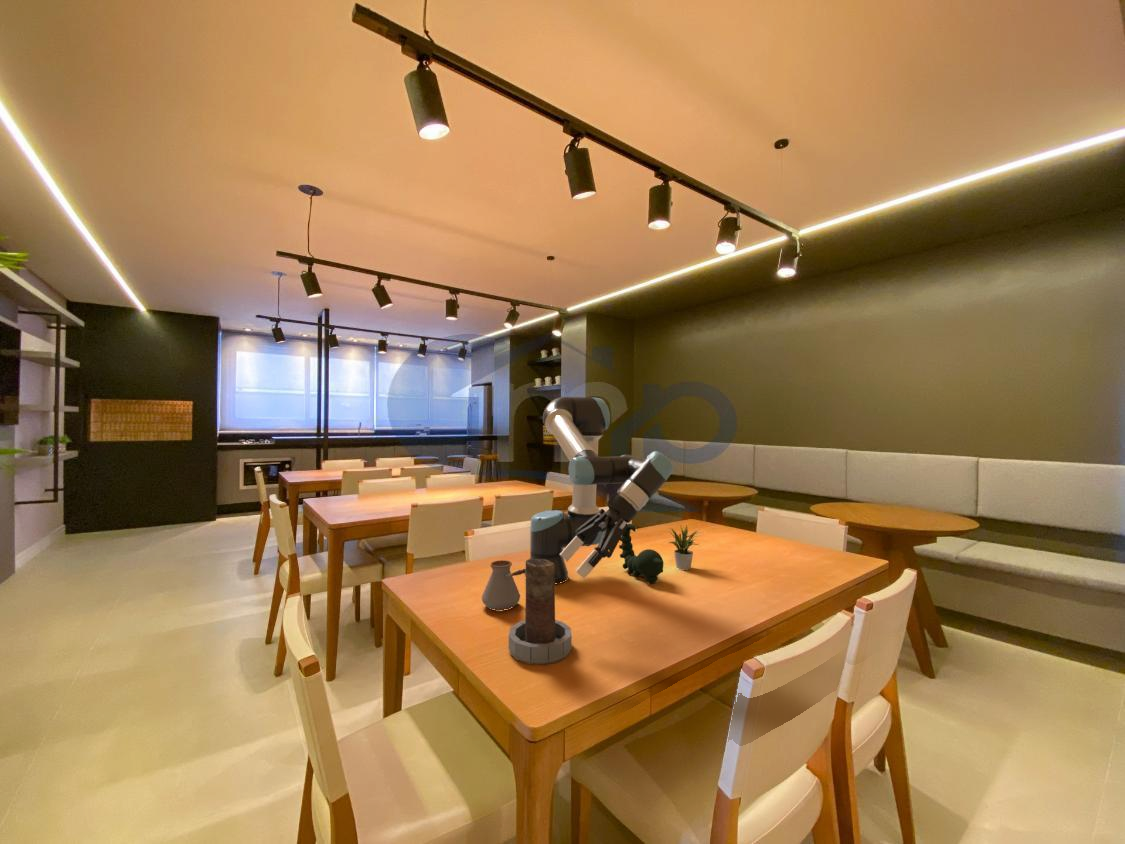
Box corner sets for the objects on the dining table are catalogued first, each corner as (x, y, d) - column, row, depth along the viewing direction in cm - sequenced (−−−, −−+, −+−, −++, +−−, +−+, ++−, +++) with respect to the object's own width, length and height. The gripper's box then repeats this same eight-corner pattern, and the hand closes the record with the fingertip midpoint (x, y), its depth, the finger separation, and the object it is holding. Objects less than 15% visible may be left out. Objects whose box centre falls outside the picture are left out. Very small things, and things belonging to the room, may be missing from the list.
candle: (525, 636, 112) (525, 556, 112) (554, 635, 113) (554, 556, 113) (525, 651, 104) (525, 565, 105) (556, 650, 105) (556, 565, 105)
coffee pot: (475, 604, 135) (475, 554, 135) (508, 596, 141) (508, 548, 142) (510, 630, 118) (510, 573, 118) (546, 619, 124) (546, 565, 125)
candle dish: (496, 654, 105) (496, 637, 105) (530, 629, 118) (530, 614, 118) (551, 671, 98) (551, 652, 98) (581, 642, 111) (581, 626, 111)
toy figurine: (614, 573, 169) (652, 589, 146) (612, 523, 171) (649, 531, 148) (635, 570, 173) (675, 586, 150) (633, 521, 174) (672, 528, 152)
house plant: (710, 575, 162) (710, 530, 163) (672, 575, 163) (672, 530, 163) (698, 563, 177) (698, 522, 177) (663, 563, 177) (663, 522, 177)
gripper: (659, 522, 103) (599, 594, 99) (617, 503, 127) (566, 560, 123) (639, 500, 102) (576, 572, 97) (599, 485, 126) (548, 543, 121)
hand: (570, 566), depth 110 cm, fingers open, 13 cm apart
